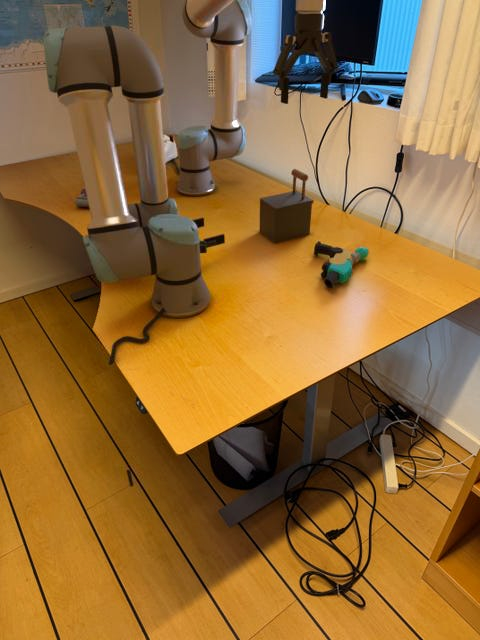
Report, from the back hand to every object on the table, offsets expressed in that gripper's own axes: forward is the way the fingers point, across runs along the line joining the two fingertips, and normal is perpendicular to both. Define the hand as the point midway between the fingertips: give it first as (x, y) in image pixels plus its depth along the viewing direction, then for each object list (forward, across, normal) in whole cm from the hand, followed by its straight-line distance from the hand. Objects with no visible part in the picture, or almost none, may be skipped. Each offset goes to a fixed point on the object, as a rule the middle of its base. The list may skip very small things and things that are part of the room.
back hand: (304, 100), depth 136 cm
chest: (+40, +5, 0) cm, 41 cm away
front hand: (+34, +30, -1) cm, 45 cm away
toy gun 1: (+40, +51, -56) cm, 86 cm away
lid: (+30, +5, 0) cm, 30 cm away
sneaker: (+40, +16, -89) cm, 99 cm away
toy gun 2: (+40, +6, +28) cm, 49 cm away
